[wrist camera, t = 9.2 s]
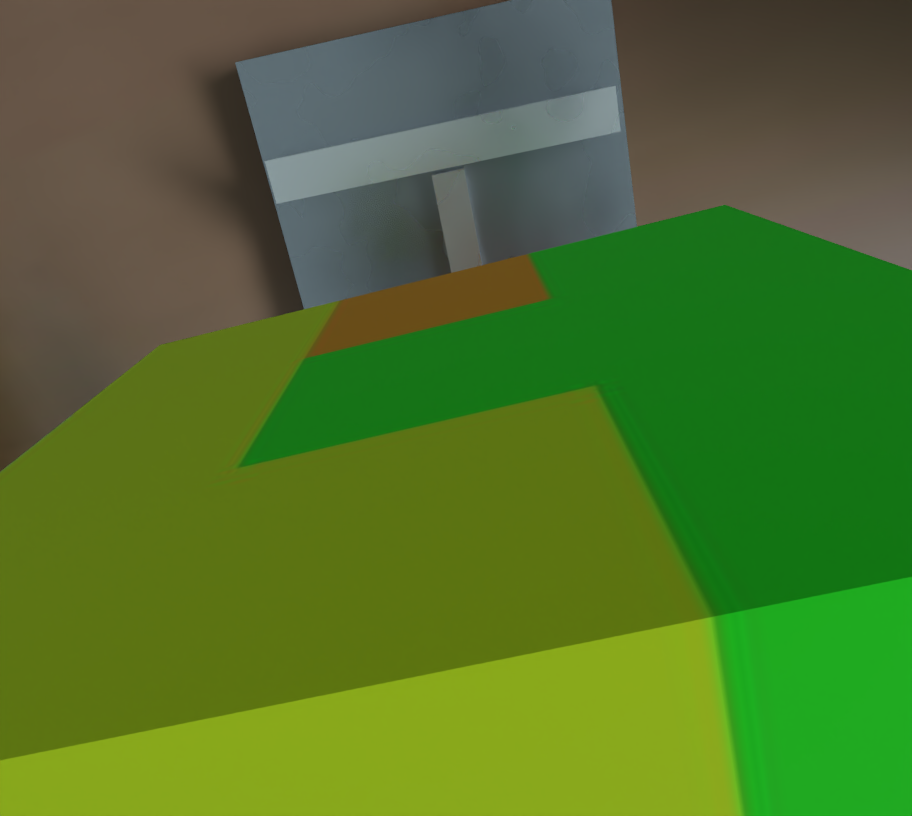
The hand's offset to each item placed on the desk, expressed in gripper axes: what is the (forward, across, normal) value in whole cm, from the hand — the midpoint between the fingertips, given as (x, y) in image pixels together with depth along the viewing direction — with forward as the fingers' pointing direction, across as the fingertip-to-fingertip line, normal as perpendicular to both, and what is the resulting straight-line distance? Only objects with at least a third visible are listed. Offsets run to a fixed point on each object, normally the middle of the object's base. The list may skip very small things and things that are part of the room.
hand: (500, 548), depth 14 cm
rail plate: (+14, 0, 0) cm, 14 cm away
